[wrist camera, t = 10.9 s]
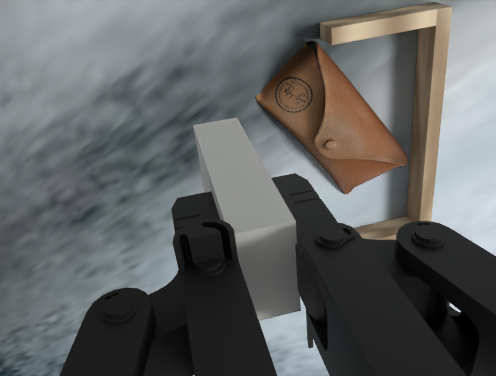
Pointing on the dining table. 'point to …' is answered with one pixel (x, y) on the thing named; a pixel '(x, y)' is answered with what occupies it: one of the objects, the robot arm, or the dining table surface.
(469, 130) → the dining table surface
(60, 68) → the dining table surface
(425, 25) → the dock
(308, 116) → the sunglasses case
